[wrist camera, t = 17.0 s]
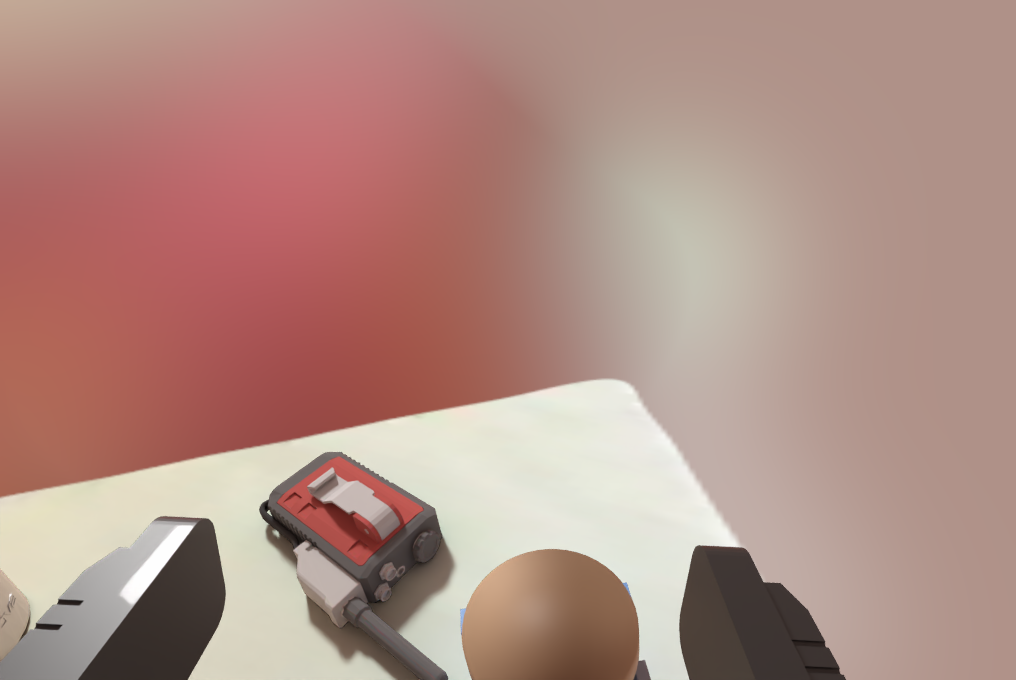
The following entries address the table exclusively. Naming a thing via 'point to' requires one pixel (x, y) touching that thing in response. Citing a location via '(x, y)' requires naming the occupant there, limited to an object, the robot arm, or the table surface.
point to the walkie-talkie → (355, 544)
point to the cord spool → (551, 621)
